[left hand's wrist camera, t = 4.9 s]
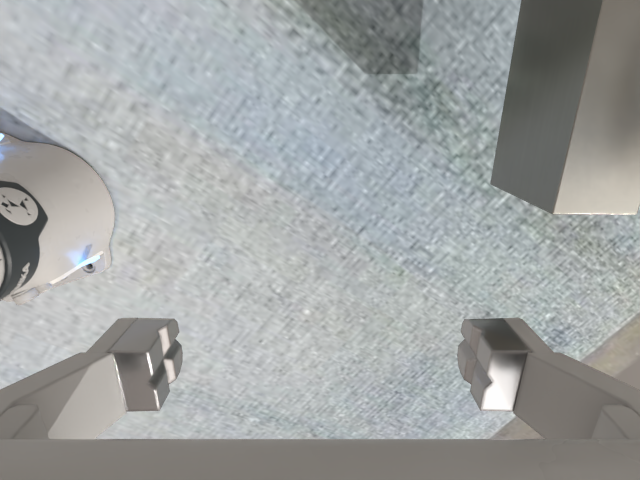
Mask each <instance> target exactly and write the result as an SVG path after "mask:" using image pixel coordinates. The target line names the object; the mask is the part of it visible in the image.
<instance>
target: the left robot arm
mask: <svg viewBox="0 0 640 480" xmlns="http://www.w3.org/2000/svg"><path fill="white" fill-rule="evenodd" d="M114 222H115V213H114V206H113V202H112V199H111V196H110V194H109V191H108V189H107V187H106V186H105V184H104V182H103V181H102V179H101V178H100V177H99V175H98V174H97V173H96V172H95V171H94V170H93V168H92V167H91V166H89V165H88V164H87V163H86V162H85V161H84V160H82V159H81V158H80V157H78V156H76V155H75V154H73V153H71V152H69V151H67V150H65V149H63V148H60V147H58V146H54V145H50V144H45V143H33V142H24V141H21V140H19V139H17V138H14V137H12V136H10V135H8V134H5V133H2V132H0V301H1V300H4V301H7V302H12V301H14V302H15V303H16V304H18V305H22V304H24V303H26V302H28V301H30V300H32V299H34V298H36V297H37V296H38V295H39V294H40V293H43V292H45V291H47V290H49V289H52V288H55V287H58V286H61V285H64V284H67V283H70V282H73V281H76V280H79V279H82V278H85V277H88V276H91V275H94V274H97V273H100V272H103V271H105V270H106V269H108V268H109V267H110V265H111V254H110V248H109V243H110V239H111V236H112V232H113V229H114ZM89 263H90V264H92V266H93V267H91V266H90V265H89ZM178 333H179V328H178V323H177V321H176V320H175V319H165V318H121V319H118V320H117V321H116V322H115V323H114V324H113V325H112V326H111V327H110V328H109V329H108V330H107V331H106V332H105V333H104V334H103V335H102V336H101V337H100V338H99V339H98V340H97V342H96V343H95V344H94V345H93V346H92V347H91V348H90V349H89V350H88V351H87V352H86V353H78V354H76V355H74V356H72V357H70V358H67V359H65V360H63V361H61V362H59V363H57V364H54V365H52V366H50V367H48V368H46V369H44V370H42V371H39V372H37V373H35V374H33V375H31V376H29V377H26V378H24V379H22V380H20V381H18V382H16V383H14V384H11V385H9V386H7V387H5V388H3V389H1V390H0V480H640V390H639V389H637V388H635V387H633V386H631V385H628V384H626V383H624V382H622V381H620V380H618V379H616V378H613V377H611V376H609V375H607V374H605V373H603V372H601V371H598V370H596V369H594V368H592V367H590V366H588V365H585V364H583V363H581V362H579V361H577V360H575V359H573V358H570V357H568V356H566V355H564V354H562V353H554V352H553V351H552V350H551V349H550V348H549V347H548V346H547V345H546V344H545V343H544V341H543V340H542V339H541V338H540V337H539V336H538V335H537V334H536V333H535V332H534V331H533V330H532V329H531V328H530V327H529V326H528V325H527V324H526V323H525V322H524V321H523V320H522V319H520V318H496V319H464V321H463V323H462V327H461V333H462V335H463V337H464V338H465V339H464V340H463V341H462V342H461V343H460V344H459V346H458V354H457V357H458V366H459V369H460V373H461V375H462V377H463V379H464V380H466V381H467V382H468V383H470V384H471V389H470V392H471V394H472V396H473V398H474V400H475V401H476V403H477V405H478V407H479V409H480V411H514V414H515V415H517V416H518V417H519V418H520V419H522V420H523V421H524V422H525V423H526V424H528V425H529V426H530V427H531V428H533V429H534V430H535V431H536V432H538V433H539V434H540V435H541V436H543V437H544V438H545V439H95V438H96V437H98V436H99V435H100V434H101V433H102V432H104V431H105V430H106V429H107V428H109V427H110V426H111V425H112V424H114V423H115V422H116V421H117V420H119V419H120V418H121V417H122V416H124V415H125V414H126V411H160V409H161V407H162V405H163V403H164V401H165V400H166V398H167V396H168V394H169V392H170V389H169V384H170V383H172V382H173V381H174V380H176V379H177V377H178V375H179V373H180V369H181V365H182V354H183V353H182V346H181V344H180V343H179V342H178V341H177V340H176V339H175V338H176V337H177V335H178Z"/></svg>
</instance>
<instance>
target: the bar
mask: <svg viewBox="0 0 640 480" xmlns="http://www.w3.org/2000/svg"><path fill="white" fill-rule="evenodd" d="M490 184H491V185H493V186H495V187H497V188H499V189H501V190H503V191H505V192H508V193H510V194H512V195H514V196H516V197H518V198H520V199H522V200H524V201H526V202H528V203H530V204H532V205H534V206H537V207H539V208H541V209H543V210H545V211H547V212H549V213H551V214H620V215H635V214H637V212H638V209H639V206H640V0H521V6H520V12H519V18H518V24H517V30H516V35H515V41H514V47H513V53H512V59H511V65H510V71H509V77H508V83H507V89H506V95H505V100H504V106H503V112H502V118H501V124H500V130H499V136H498V142H497V148H496V154H495V160H494V165H493V171H492V177H491V183H490Z"/></svg>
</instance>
